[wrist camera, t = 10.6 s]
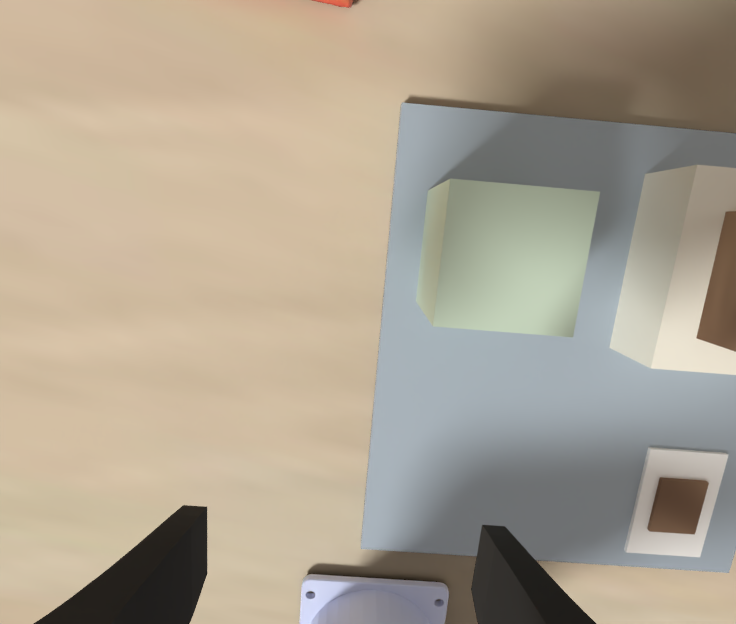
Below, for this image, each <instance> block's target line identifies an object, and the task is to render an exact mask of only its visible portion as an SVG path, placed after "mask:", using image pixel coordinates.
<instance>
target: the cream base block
mask: <svg viewBox="0 0 736 624" xmlns="http://www.w3.org/2000/svg"><path fill="white" fill-rule="evenodd" d="M729 211H736V168H730V167H718V166H707V165H692V166H687V167H681V168H676V169H670V170H665V171H659V172H654V173H648V174H645V177H644V181H643V186H642V191H641V196H640V201H639V206H638V211H637V216H636V220H635V225H634V230H633V235H632V240H631V245H630V250H629V254H628V259H627V264H626V269H625V274H624V279H623V284H622V289H621V293H620V298H619V303H618V308H617V313H616V318H615V323H614V328H613V332H612V337H611V342H610V347H609V348H611V349H613V350H615V351H617V352H619V353H621V354H623V355H625V356H627V357H629V358H631V359H633V360H635V361H637V362H639V363H641V364H643V365H645V366H647V367H649V368H651V369H663V370H676V371H689V372H702V373H715V374H728V375H736V352H735V351H732V350H729V349H726V348H723V347H720V346H717V345H714V344H712V343H709V342H706V341H703V340H700V339H697V338H696V337H697V333H698V329H699V324H700V320H701V316H702V311H703V307H704V303H705V299H706V294H707V290H708V286H709V281H710V277H711V273H712V268H713V264H714V260H715V256H716V251H717V247H718V243H719V238H720V234H721V230H722V225H723V221H724V217H725V213H726V212H729Z"/></svg>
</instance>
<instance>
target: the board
mask: <svg viewBox="0 0 736 624" xmlns="http://www.w3.org/2000/svg"><path fill="white" fill-rule="evenodd" d="M692 165H707V166H718V167H730V168H736V133H727V132H716V131H705V130H694V129H683V128H673V127H662V126H651V125H640V124H629V123H618V122H607V121H597V120H586V119H575V118H564V117H553V116H542V115H531V114H520V113H510V112H499V111H488V110H477V109H466V108H455V107H444V106H434V105H423V104H412V103H402V104H401V110H400V121H399V132H398V143H397V154H396V165H395V176H394V187H393V198H392V209H391V220H390V231H389V242H388V253H387V264H386V274H385V285H384V296H383V307H382V318H381V329H380V340H379V351H378V362H377V373H376V384H375V395H374V406H373V417H372V428H371V439H370V450H369V460H368V471H367V482H366V493H365V504H364V515H363V526H362V537H361V549H371V550H386V551H402V552H417V553H432V554H448V555H463V556H477V552H478V546H479V540H480V534H481V528H482V525H494V526H505V527H506V528H507V529H508V530H509V531H510V532H511V533H512V534H513V536H514V537H515V538H516V539H517V540H518V541H519V542H520V543H521V545H522V546H523V547H524V548H525V549H526V550H527V551H528V552H529V554H530V555H531V556H532V557H533V558H534V559H535V560H540V561H555V562H571V563H586V564H601V565H617V566H632V567H647V568H663V569H678V570H693V571H709V572H724V573H729V570H730V567H731V564H732V560H733V557H734V554H735V550H736V375H728V374H715V373H702V372H689V371H676V370H663V369H651V368H649V367H647V366H645V365H643V364H641V363H639V362H637V361H635V360H633V359H631V358H629V357H627V356H625V355H623V354H621V353H619V352H617V351H615V350H613V349H611V348H609V347H610V342H611V337H612V332H613V328H614V323H615V318H616V313H617V308H618V303H619V298H620V293H621V289H622V284H623V279H624V274H625V269H626V264H627V259H628V254H629V250H630V245H631V240H632V235H633V230H634V225H635V220H636V216H637V211H638V206H639V201H640V196H641V191H642V186H643V181H644V177H645V174H648V173H654V172H659V171H665V170H670V169H676V168H681V167H687V166H692ZM448 179H461V180H473V181H484V182H495V183H507V184H518V185H530V186H541V187H552V188H564V189H575V190H587V191H598V192H600V196H599V201H598V206H597V212H596V217H595V222H594V228H593V233H592V238H591V244H590V249H589V254H588V260H587V265H586V271H585V276H584V281H583V287H582V292H581V297H580V303H579V308H578V313H577V319H576V324H575V330H574V335H573V337H560V336H547V335H535V334H522V333H509V332H497V331H484V330H471V329H459V328H446V327H433V326H432V324H431V323H430V321H429V320H428V318H427V317H426V315H425V314H424V313H423V311H422V310H421V308H420V307H419V305H418V304H417V302H416V296H417V286H418V277H419V268H420V258H421V249H422V240H423V230H424V221H425V212H426V202H427V193H428V190H430V189H432V188H434V187H435V186H437V185H439V184H441V183H443V182H445V181H447V180H448Z"/></svg>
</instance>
